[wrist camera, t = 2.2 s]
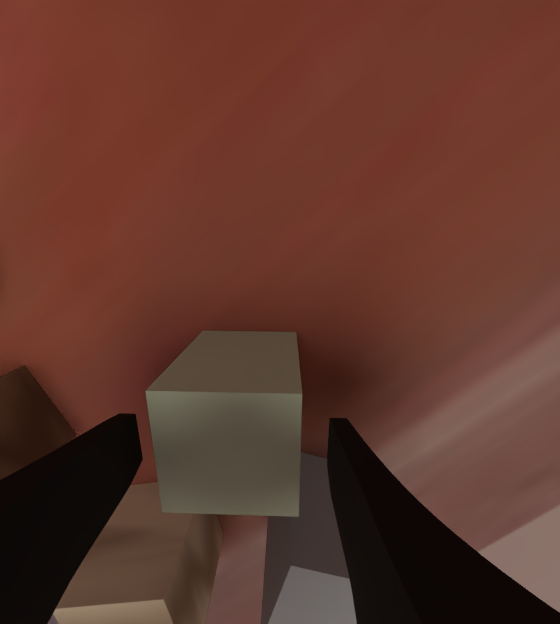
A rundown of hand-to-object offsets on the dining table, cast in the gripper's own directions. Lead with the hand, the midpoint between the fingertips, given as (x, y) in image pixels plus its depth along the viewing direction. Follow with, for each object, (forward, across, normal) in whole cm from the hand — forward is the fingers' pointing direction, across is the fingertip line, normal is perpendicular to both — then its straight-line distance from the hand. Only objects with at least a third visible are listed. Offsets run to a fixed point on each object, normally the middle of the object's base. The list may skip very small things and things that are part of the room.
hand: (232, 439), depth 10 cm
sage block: (+5, 0, 0) cm, 5 cm away
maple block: (+5, +5, +10) cm, 12 cm away
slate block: (+5, -4, +8) cm, 10 cm away
